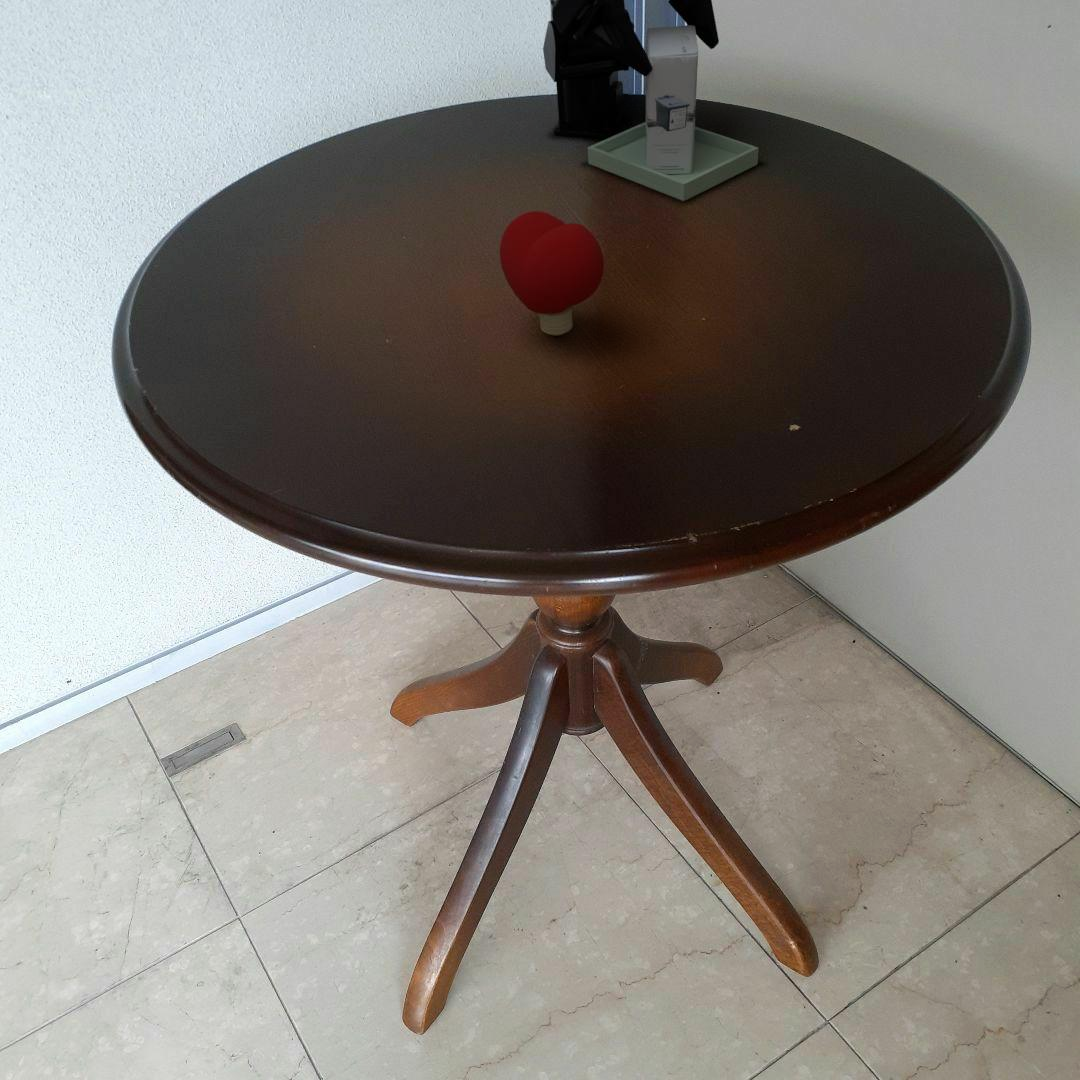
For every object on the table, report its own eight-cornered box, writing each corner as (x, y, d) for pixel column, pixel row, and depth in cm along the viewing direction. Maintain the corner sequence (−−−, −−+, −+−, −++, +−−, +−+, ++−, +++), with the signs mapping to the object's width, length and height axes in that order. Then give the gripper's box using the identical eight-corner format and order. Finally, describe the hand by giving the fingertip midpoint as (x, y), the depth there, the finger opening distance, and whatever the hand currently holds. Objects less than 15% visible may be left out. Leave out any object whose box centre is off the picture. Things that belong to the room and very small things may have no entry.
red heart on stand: (488, 335, 86) (473, 224, 80) (544, 300, 90) (535, 190, 83) (571, 372, 81) (562, 257, 75) (627, 333, 85) (624, 220, 78)
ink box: (645, 142, 111) (644, 26, 103) (692, 139, 111) (695, 23, 103) (646, 176, 105) (645, 56, 97) (696, 174, 104) (698, 52, 96)
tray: (588, 163, 110) (587, 147, 108) (660, 131, 114) (660, 114, 113) (683, 201, 101) (683, 184, 100) (757, 164, 106) (758, 147, 105)
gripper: (563, -128, 87) (656, 35, 88) (713, -170, 95) (797, -20, 96) (514, -39, 97) (598, 106, 98) (653, -83, 106) (730, 51, 107)
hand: (682, 59), depth 100 cm, fingers open, 9 cm apart
